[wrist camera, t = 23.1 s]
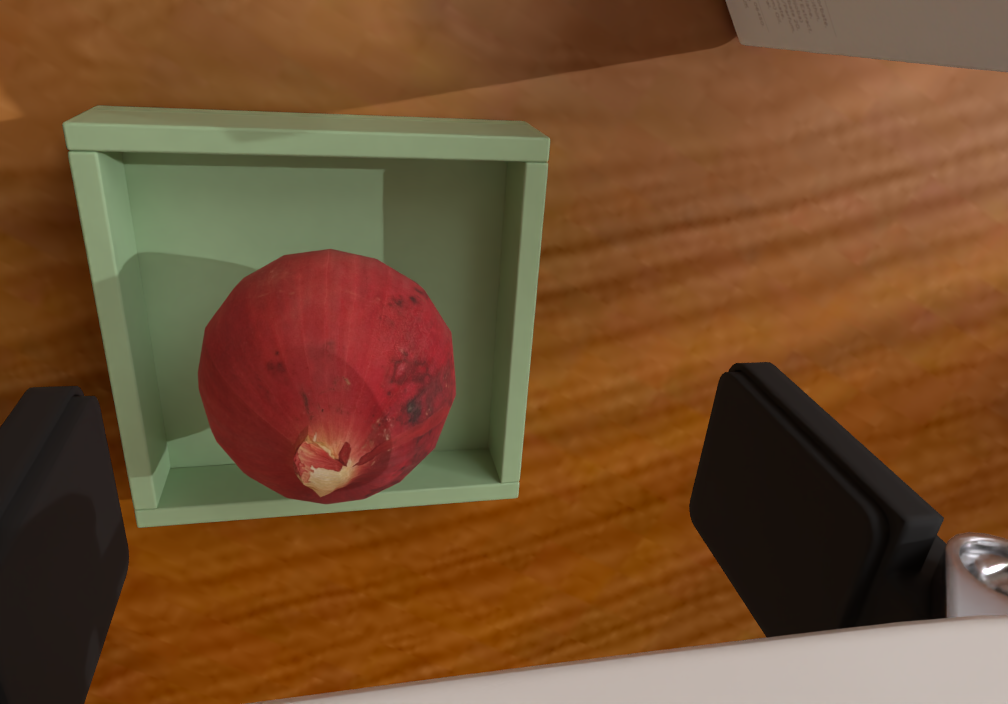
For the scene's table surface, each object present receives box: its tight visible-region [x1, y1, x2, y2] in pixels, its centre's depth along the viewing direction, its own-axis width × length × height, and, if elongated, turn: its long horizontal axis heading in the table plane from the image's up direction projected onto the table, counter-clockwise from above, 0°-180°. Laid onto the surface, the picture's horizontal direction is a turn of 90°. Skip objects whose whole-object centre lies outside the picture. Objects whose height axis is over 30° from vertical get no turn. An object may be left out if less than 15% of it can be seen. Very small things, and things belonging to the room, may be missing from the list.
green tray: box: [62, 105, 550, 528], centre depth 20 cm, size 11×11×3 cm
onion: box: [198, 249, 456, 504], centre depth 17 cm, size 6×6×8 cm
